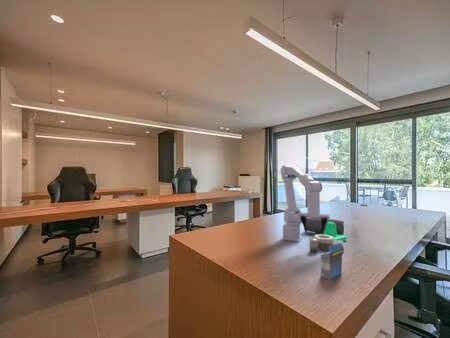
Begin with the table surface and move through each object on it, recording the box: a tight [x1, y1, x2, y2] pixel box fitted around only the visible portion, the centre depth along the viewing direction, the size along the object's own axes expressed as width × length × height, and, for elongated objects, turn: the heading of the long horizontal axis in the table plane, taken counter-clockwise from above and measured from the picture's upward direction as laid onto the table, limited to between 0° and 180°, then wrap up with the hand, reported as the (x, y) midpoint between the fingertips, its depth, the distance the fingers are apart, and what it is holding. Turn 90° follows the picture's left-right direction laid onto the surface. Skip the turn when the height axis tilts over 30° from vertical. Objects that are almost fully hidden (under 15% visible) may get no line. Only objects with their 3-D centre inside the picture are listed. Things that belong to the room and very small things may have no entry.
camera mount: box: [323, 222, 348, 243], centre depth 129 cm, size 12×8×10 cm, turn 121°
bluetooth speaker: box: [306, 217, 345, 236], centre depth 143 cm, size 23×9×10 cm, turn 61°
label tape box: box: [320, 243, 343, 281], centre depth 85 cm, size 9×4×12 cm, turn 126°
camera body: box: [314, 234, 344, 254], centre depth 117 cm, size 14×9×6 cm, turn 62°
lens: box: [308, 237, 319, 254], centre depth 112 cm, size 4×4×6 cm
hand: (313, 232), depth 112 cm, fingers open, 7 cm apart
